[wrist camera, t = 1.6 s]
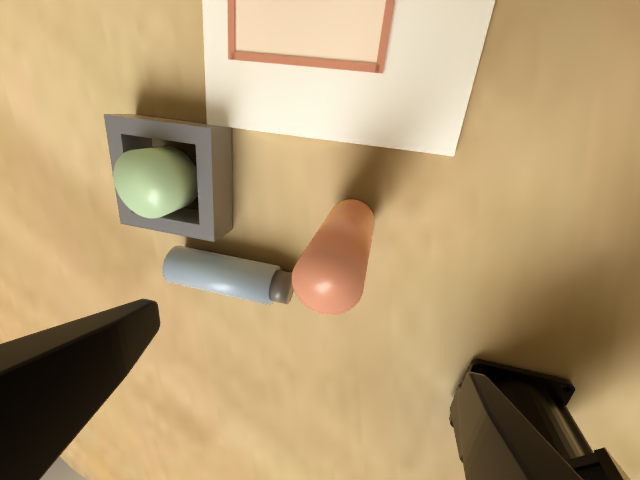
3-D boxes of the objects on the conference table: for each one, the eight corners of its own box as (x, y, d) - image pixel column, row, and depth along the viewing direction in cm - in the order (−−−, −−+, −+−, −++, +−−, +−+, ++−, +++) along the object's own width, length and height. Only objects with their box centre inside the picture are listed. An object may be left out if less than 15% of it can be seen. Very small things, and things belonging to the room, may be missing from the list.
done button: (198, 150, 19) (171, 154, 17) (200, 212, 21) (177, 223, 18) (141, 142, 20) (108, 145, 17) (148, 202, 21) (118, 212, 19)
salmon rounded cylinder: (379, 198, 19) (368, 257, 11) (371, 239, 20) (357, 321, 12) (335, 191, 20) (294, 243, 12) (329, 232, 21) (289, 306, 13)
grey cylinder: (298, 265, 23) (288, 272, 20) (292, 302, 23) (281, 313, 20) (188, 244, 24) (165, 247, 22) (184, 278, 25) (160, 286, 22)
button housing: (231, 126, 20) (210, 128, 17) (232, 229, 22) (214, 241, 20) (135, 114, 21) (103, 114, 18) (147, 213, 23) (120, 223, 21)
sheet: (539, -175, 12) (546, -187, 12) (452, 155, 18) (454, 156, 17) (201, -163, 15) (194, -174, 14) (210, 124, 20) (205, 124, 19)
